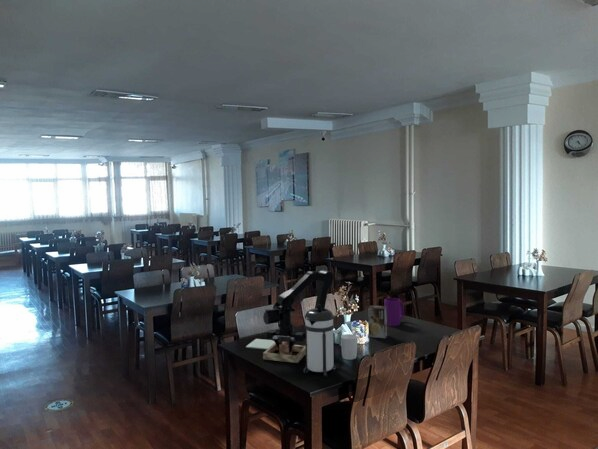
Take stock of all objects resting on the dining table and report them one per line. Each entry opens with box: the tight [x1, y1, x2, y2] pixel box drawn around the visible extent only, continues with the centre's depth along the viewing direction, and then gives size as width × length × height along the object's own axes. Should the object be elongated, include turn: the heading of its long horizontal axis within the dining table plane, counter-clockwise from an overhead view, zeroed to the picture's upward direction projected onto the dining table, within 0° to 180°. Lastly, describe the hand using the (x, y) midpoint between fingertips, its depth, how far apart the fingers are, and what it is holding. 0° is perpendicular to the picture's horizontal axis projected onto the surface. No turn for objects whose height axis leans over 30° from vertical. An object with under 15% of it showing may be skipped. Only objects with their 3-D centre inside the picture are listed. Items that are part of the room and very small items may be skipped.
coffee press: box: [303, 304, 337, 378], centre depth 208 cm, size 17×16×30 cm
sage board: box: [245, 338, 275, 351], centre depth 245 cm, size 13×13×1 cm
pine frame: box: [262, 343, 306, 364], centre depth 228 cm, size 17×15×3 cm
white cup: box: [340, 333, 359, 361], centre depth 224 cm, size 8×8×10 cm
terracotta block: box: [278, 341, 293, 355], centre depth 228 cm, size 4×5×6 cm
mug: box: [383, 297, 405, 327], centre depth 280 cm, size 9×16×15 cm, turn 134°
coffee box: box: [367, 305, 388, 339], centre depth 256 cm, size 9×6×16 cm
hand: (285, 352), depth 228 cm, fingers closed on terracotta block, 4 cm apart
